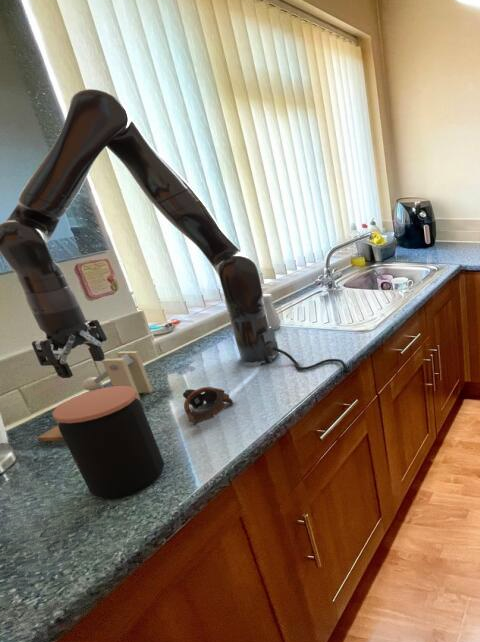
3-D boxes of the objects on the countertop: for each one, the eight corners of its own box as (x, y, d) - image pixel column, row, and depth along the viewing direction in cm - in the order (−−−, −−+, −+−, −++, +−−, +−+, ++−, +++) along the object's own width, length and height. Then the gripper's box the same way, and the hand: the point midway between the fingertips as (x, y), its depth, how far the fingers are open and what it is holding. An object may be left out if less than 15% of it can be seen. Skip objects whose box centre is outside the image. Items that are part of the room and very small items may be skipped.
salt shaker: (273, 332, 144) (265, 297, 140) (259, 330, 145) (251, 296, 141) (285, 326, 150) (278, 292, 145) (271, 324, 151) (264, 291, 146)
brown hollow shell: (246, 404, 102) (233, 389, 96) (218, 438, 96) (203, 424, 90) (205, 389, 103) (189, 372, 97) (175, 421, 98) (156, 406, 91)
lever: (87, 395, 100) (75, 385, 99) (99, 388, 103) (88, 378, 102) (127, 367, 98) (115, 357, 97) (138, 361, 101) (126, 351, 100)
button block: (129, 419, 96) (123, 405, 94) (94, 444, 87) (87, 429, 86) (80, 420, 95) (73, 406, 94) (41, 446, 87) (33, 430, 85)
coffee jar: (123, 462, 82) (89, 386, 75) (179, 460, 83) (150, 384, 76) (75, 504, 72) (31, 420, 66) (139, 500, 73) (102, 417, 66)
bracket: (103, 409, 99) (83, 363, 95) (130, 392, 107) (113, 349, 102) (146, 408, 100) (128, 362, 95) (169, 391, 107) (154, 348, 103)
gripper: (41, 318, 87) (72, 383, 93) (100, 296, 100) (124, 354, 106) (4, 319, 87) (38, 384, 93) (68, 297, 100) (94, 355, 106)
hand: (84, 368), depth 99 cm, fingers open, 8 cm apart
